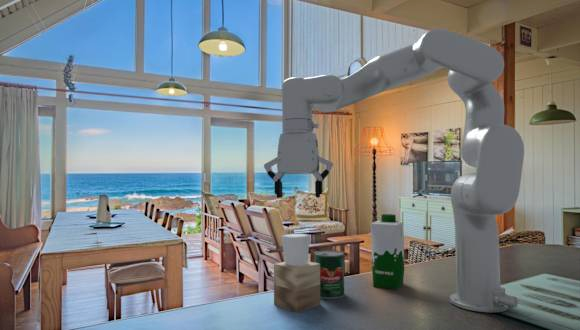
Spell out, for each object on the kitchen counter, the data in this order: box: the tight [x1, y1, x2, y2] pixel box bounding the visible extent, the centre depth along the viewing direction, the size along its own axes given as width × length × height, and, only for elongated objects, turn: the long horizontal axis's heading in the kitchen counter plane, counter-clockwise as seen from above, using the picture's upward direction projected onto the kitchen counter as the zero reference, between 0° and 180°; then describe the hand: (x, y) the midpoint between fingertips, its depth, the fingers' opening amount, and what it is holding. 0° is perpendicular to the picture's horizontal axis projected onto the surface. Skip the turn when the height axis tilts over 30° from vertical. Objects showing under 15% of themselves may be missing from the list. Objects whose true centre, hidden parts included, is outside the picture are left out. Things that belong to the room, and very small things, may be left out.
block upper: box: [273, 260, 320, 291], centre depth 91 cm, size 8×8×5 cm
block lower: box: [273, 284, 321, 314], centre depth 91 cm, size 8×8×5 cm
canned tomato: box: [313, 249, 345, 300], centre depth 99 cm, size 8×8×11 cm
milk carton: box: [370, 213, 405, 290], centre depth 108 cm, size 9×9×20 cm
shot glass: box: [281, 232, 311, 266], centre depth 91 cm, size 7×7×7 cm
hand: (298, 197), depth 92 cm, fingers open, 9 cm apart
